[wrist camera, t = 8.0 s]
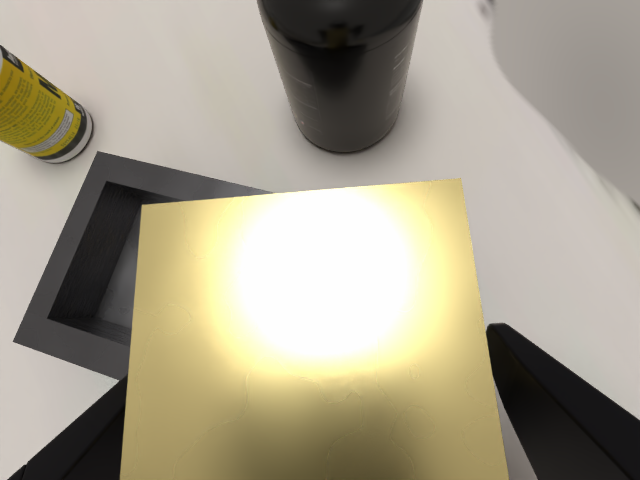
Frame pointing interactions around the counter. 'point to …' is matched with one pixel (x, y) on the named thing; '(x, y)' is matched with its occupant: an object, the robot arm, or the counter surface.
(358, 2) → the supplement bottle
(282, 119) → the counter surface
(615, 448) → the robot arm
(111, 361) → the compartment tray
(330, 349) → the brass block
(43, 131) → the supplement bottle
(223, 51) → the counter surface
